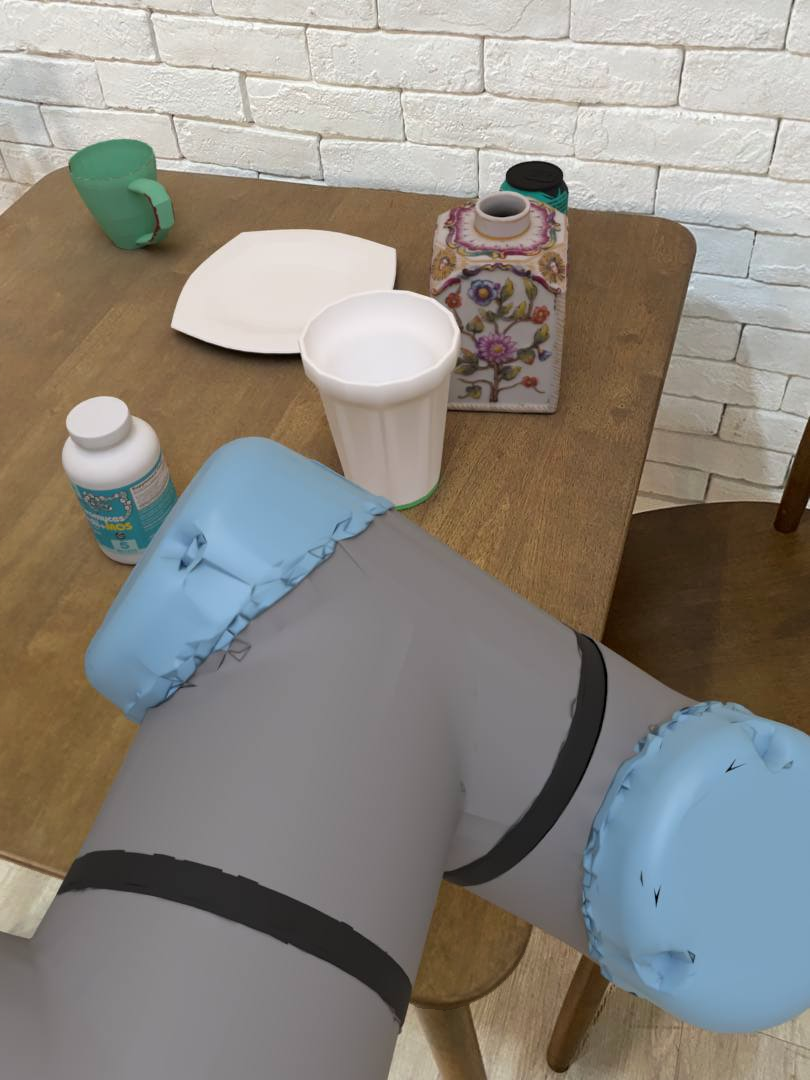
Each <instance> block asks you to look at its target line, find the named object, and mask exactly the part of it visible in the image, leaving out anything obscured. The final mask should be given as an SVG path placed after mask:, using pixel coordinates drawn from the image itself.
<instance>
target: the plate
mask: <svg viewBox="0 0 810 1080" xmlns="http://www.w3.org/2000/svg"><path fill="white" fill-rule="evenodd" d="M396 275H397V249H396V248H394V247H392V246H388V245H385V244H381V243H378V242H376V241H372V240H370V239H365V238H363V237H359V236H355V235H351V234H346V233H342V232H337V231H330V230H325V229H324V230H322V229H309V228H308V229H304V228H303V229H302V228H300V229H298V228H297V229H296V228H295V229H294V228H293V229H271V230H270V229H269V230H253V231H242V232H240V233H238V234H237V235H236V236H235V237H233V238H232V239H230V240H229V241H228V242H226V243H225V244H223V246H221V247H220V248H219V249H217V250H216V251H215V252H213V253H212V254H211V255H210V256H208V257H207V258H206V259H205V260H204V261H203V262H201V264H200V265H199V266H198V267H197V268H196V269H194V271H192V273H191V274H190V275H189V277H188V278H187V280H186V282H185V283H184V285H183V287H182V290H181V292H180V294H179V297H178V299H177V301H176V305H175V308H174V311H173V315H172V319H171V324H170V328H171V329H172V330H175V331H177V332H179V333H181V334H184V335H186V336H188V337H191V338H193V339H196V340H198V341H201V342H203V343H207V344H210V345H213V346H216V347H220V348H223V349H226V350H231V351H237V352H241V353H246V354H247V353H248V354H258V355H301V353H300V348H299V343H298V339H299V337H300V334H301V332H302V330H303V328H304V326H305V323H306V321H307V320H308V319H309V318H311V317H312V316H313V315H314V314H315V313H316V312H317V311H319V310H320V309H321V308H322V307H323V306H324V305H326V304H328V303H331V302H333V301H335V300H338V299H340V298H342V297H345V296H347V295H349V294H354V293H360V292H365V291H371V290H377V289H388V290H394V286H395V280H396V277H397V276H396Z"/></svg>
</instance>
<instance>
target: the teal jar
mask: <svg viewBox="0 0 810 1080" xmlns="http://www.w3.org/2000/svg"><path fill="white" fill-rule="evenodd" d="M499 191H511V192H517V193H519V194H521V195H523V196H528V197H532V198H534V199H536V200H538V201H541V202H544V203H546V204H548V205H549V206H551V207H553V208H555V209H557V210H558V211H559V212H561V213H562V214H564V215H566V216H567V217H568V210H569V197H570V191H569V187H568V185H567V183H566V181H565V180H564V171H563V169H562V168H561V167H559V166H558V165H556V164H554V163H552V162H549V161H544V160H543V161H542V160H526V161H522V162H519V163H515V164H514V165H512V166H510V167H509V168H508V169H507V170H506V172H505V179H504V180H503V182H502V184H501V185H500V186H499V190H498V192H499Z"/></svg>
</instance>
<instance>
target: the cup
mask: <svg viewBox="0 0 810 1080" xmlns="http://www.w3.org/2000/svg"><path fill="white" fill-rule="evenodd" d="M298 343H299V348H300V353H301V354H300V357H301V362H302V366H303V370H304V374H305V376H306V377H307V378H308V379H309V381H311V382H312V383H313V385H314V386H315V387H316V388H317V390H318V393H319V396H320V400H321V403H322V406H323V410H324V413H325V416H326V419H327V420H326V421H327V423H328V426H329V429H330V432H331V436H332V439H333V442H334V447H335V449H336V452H337V456H338V458H339V462H340V465H341V468H342V472H343V477H345V478H346V479H348V480H350V481H351V482H353V483H355V484H357V485H358V486H360V487H362V488H363V489H365V490H367V491H368V492H370V493H372V494H374V495H376V496H383V497H385V498H386V499H387V500H389V501H391V502H392V503H393V504H395V506H394V507H395V508H394V509H396V510H397V511H401V510H405V509H411V508H413V507H415V506H417V505H419V504H421V503H423V502H425V501H426V500H428V499H429V498H430V497H431V496H432V494H433V493H434V492H435V491H436V490H437V488H438V485H439V483H440V480H441V479H440V478H441V470H442V469H441V467H442V460H443V451H444V449H443V448H444V442H445V441H444V440H445V431H446V421H447V412H448V410H447V404H448V394H449V385H450V375H451V371H452V370H453V369H454V368H455V366H456V362H457V358H458V355H459V351H460V329H459V327H458V325H457V322H456V320H455V318H454V315H453V313H452V312H450V311H449V310H448V309H446V308H445V307H444V306H443V305H441V304H440V303H439V302H437V301H436V300H435V299H433V298H430V296H426V295H424V294H420V293H417V292H414V291H410V290H405V289H404V290H401V289H393V290H388V289H377V290H371V291H365V292H360V293H354V294H349V295H347V296H345V297H342V298H340V299H338V300H335V301H333V302H331V303H328V304H326V305H324V306H323V307H322V308H321V309H320V310H319V311H317V312H316V313H315V314H314V315H313V316H312V317H311V318H309V319H308V320H307V321H306V323H305V326H304V328H303V330H302V332H301V334H300V337H299V339H298Z"/></svg>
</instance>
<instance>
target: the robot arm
mask: <svg viewBox="0 0 810 1080" xmlns="http://www.w3.org/2000/svg"><path fill="white" fill-rule="evenodd" d="M394 506H395V504H393V503H392V502H391V501H389V500H387V499H386V498H385V497H383V496H376V495H374V494H372V493H370V492H368V491H367V490H365V489H363V488H362V487H360V486H358V485H357V484H355V483H353V482H351V481H350V480H348V479H346V478H345V476H344V475H341V474H340V473H338V472H336V471H334V470H333V469H331V468H330V467H328V466H327V465H325V464H322V463H321V462H319V461H318V460H316V459H312V458H311V459H310V458H308V457H306V456H304V455H302V454H300V453H299V452H298V451H297V452H296V451H295V450H293V449H291V448H289V447H288V446H286V445H284V444H282V443H280V442H279V441H276V440H273V439H270V438H268V437H262V436H245V437H240V438H236V439H233V440H231V441H229V442H227V443H224V444H222V446H220V447H218V448H217V449H216V450H215V451H214V452H212V454H211V455H210V456H209V457H208V458H207V459H206V460H205V461H204V462H203V464H202V465H201V467H200V468H199V469H198V471H197V472H196V473H195V475H194V476H193V478H192V479H191V481H190V482H189V484H188V485H187V486H186V487H185V489H184V490H183V492H182V493H181V495H180V497H178V501H177V502H176V504H175V505H174V507H173V508H172V510H171V511H170V513H169V514H168V516H167V517H166V519H165V520H164V522H163V523H162V525H161V526H160V528H159V530H158V531H157V533H156V534H155V536H154V537H153V539H152V540H151V542H150V543H149V545H148V547H147V548H146V550H145V551H144V553H143V554H142V556H141V558H140V559H139V561H138V562H137V564H135V566H134V567H133V569H132V571H131V572H130V574H129V575H128V577H127V578H126V580H125V581H124V583H123V585H122V586H121V588H120V589H119V592H118V593H117V595H116V597H115V598H114V600H113V602H112V603H111V605H110V607H109V609H108V610H107V612H106V613H105V616H104V618H103V621H102V623H101V625H100V626H99V628H98V629H97V631H96V632H95V633H94V635H93V636H92V639H91V640H90V643H89V644H88V646H87V649H86V652H85V655H84V664H83V665H84V672H85V677H86V680H87V681H88V682H89V684H90V686H91V687H92V688H93V689H95V691H96V692H98V693H99V694H100V695H102V696H103V697H104V698H106V699H107V700H108V701H110V702H111V703H112V704H113V705H115V706H116V707H117V708H118V709H120V710H121V711H122V713H123V715H124V717H125V718H126V720H128V721H130V722H133V723H135V724H137V725H139V727H138V730H137V732H136V734H135V736H134V738H133V740H132V743H131V744H130V746H129V748H128V750H127V753H126V755H125V757H124V759H123V760H122V763H121V765H120V767H119V770H118V771H117V774H116V776H115V778H114V779H113V781H112V784H111V785H110V788H109V790H108V792H107V794H106V796H105V798H104V801H103V802H102V805H101V806H100V809H99V811H98V813H97V815H96V817H95V820H94V822H93V824H92V826H91V828H90V830H89V832H88V834H87V836H86V837H85V840H84V841H83V843H82V846H81V847H80V849H79V851H78V853H77V855H76V857H75V859H74V860H73V862H72V863H71V865H70V867H69V869H68V871H67V872H66V875H65V876H64V878H63V880H62V882H61V884H60V885H59V888H58V890H57V892H56V894H55V896H54V898H53V900H52V901H51V902H50V905H49V907H48V908H47V910H46V911H45V914H44V915H43V917H42V919H41V921H40V922H39V924H38V926H37V928H36V930H35V931H34V933H33V934H32V936H31V937H29V938H27V937H25V936H20V935H15V934H12V933H9V932H5V931H1V930H0V1080H388V1079H389V1074H390V1071H391V1067H392V1062H393V1058H394V1055H395V1054H394V1053H395V1051H396V1045H397V1042H398V1037H399V1035H401V1034H402V1032H403V1026H404V1025H405V1021H406V1017H407V1013H408V1009H409V1005H410V1002H411V997H412V994H413V991H414V987H415V984H416V980H417V976H418V972H419V968H420V964H421V960H422V957H423V954H424V953H423V952H424V949H425V945H426V941H427V938H428V934H429V930H430V926H431V923H432V918H433V915H434V911H435V907H436V903H437V899H438V896H439V893H440V888H441V885H442V880H445V881H446V882H448V883H450V884H453V885H455V886H458V887H461V888H463V889H465V890H466V891H469V893H472V894H473V895H475V896H477V897H479V898H481V899H483V900H485V901H487V902H489V903H491V904H492V905H494V906H496V907H498V908H500V909H502V910H504V911H506V912H507V913H509V914H511V915H513V916H515V917H516V918H519V919H520V920H522V921H524V922H526V923H527V924H529V925H531V926H533V927H535V928H536V929H539V930H541V931H542V932H544V933H546V934H548V935H550V936H551V937H553V938H555V939H557V940H559V941H560V942H562V943H563V944H566V945H567V946H569V947H570V948H572V949H574V950H575V951H577V952H578V953H579V954H581V955H583V956H585V957H586V958H587V959H589V960H590V961H592V962H593V963H595V964H596V965H597V966H599V968H600V974H601V975H602V976H603V977H604V978H605V979H606V980H608V981H609V982H611V984H613V985H615V986H616V987H618V988H619V989H621V990H623V991H625V992H627V993H629V994H631V995H633V996H635V997H637V998H640V999H642V1000H646V1001H648V1002H650V1003H652V1004H653V1005H654V1006H656V1007H658V1008H659V1009H661V1010H662V1011H664V1012H666V1013H667V1014H669V1015H670V1016H672V1017H674V1018H675V1019H677V1020H679V1021H681V1022H683V1023H685V1024H687V1025H689V1026H691V1027H694V1028H697V1029H701V1030H704V1031H707V1032H711V1033H716V1034H726V1035H740V1034H741V1035H743V1034H745V1035H747V1034H752V1033H757V1032H758V1033H759V1032H763V1031H766V1030H767V1031H768V1030H771V1029H773V1028H776V1027H779V1026H781V1025H784V1024H787V1023H788V1022H790V1021H792V1020H794V1019H796V1018H797V1017H799V1016H801V1015H802V1014H803V1013H805V1012H806V1011H808V1010H809V1009H810V735H808V734H807V733H805V732H804V731H802V730H800V729H798V728H796V727H794V726H790V725H788V724H786V723H781V722H778V721H775V720H772V719H768V718H766V717H762V716H759V715H756V714H755V713H753V712H752V711H751V710H750V709H749V708H747V707H745V706H744V705H742V704H739V703H736V702H731V701H728V702H726V703H724V704H723V703H722V702H721V701H718V700H717V701H716V700H708V701H703V702H701V701H697V700H696V699H692V698H690V697H688V696H686V695H684V694H682V693H680V692H679V691H676V690H675V689H673V688H671V687H669V686H667V685H665V684H664V683H662V682H661V681H659V680H658V679H656V678H655V677H653V676H652V675H650V674H649V673H647V672H646V671H644V670H642V669H641V668H640V667H638V666H637V665H635V664H633V663H632V662H631V661H630V660H627V659H626V658H625V657H623V656H621V655H620V654H618V653H616V651H614V650H612V649H611V648H609V647H607V646H606V645H604V644H603V643H602V642H600V641H598V640H597V639H596V638H594V637H592V636H591V635H589V634H588V633H584V632H582V631H577V630H576V629H574V628H573V627H571V626H569V625H568V624H567V623H565V622H563V621H560V620H558V619H557V618H556V617H554V616H552V615H550V614H549V613H547V612H546V611H545V610H543V609H542V608H540V607H539V606H537V605H536V604H535V603H533V602H531V601H530V600H529V599H527V598H525V597H524V596H523V595H521V594H519V593H518V592H516V591H515V590H513V589H512V588H510V587H509V586H507V584H505V583H503V582H501V581H500V580H499V579H497V578H496V577H494V576H493V575H491V574H490V573H488V572H486V571H485V570H484V569H482V568H481V567H479V566H478V565H477V564H475V563H473V562H472V561H471V560H469V559H468V558H467V557H465V556H463V555H462V554H460V553H459V552H457V551H456V550H455V549H453V548H452V547H451V546H449V545H448V544H446V543H445V542H444V541H442V540H440V539H439V538H438V537H436V536H435V535H434V534H431V532H429V531H427V530H426V529H424V528H423V527H422V526H420V525H419V524H417V523H416V522H414V521H413V520H412V519H410V518H409V517H407V516H406V515H404V514H403V513H401V512H400V510H396V509H394V508H395V507H394Z"/></svg>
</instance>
